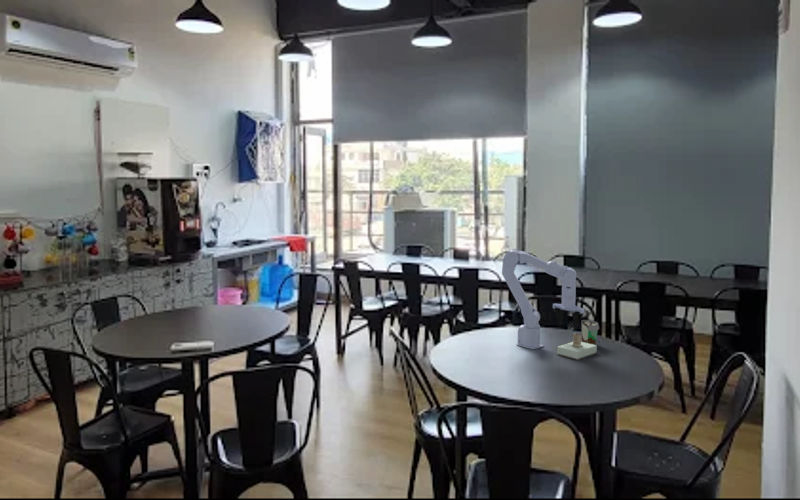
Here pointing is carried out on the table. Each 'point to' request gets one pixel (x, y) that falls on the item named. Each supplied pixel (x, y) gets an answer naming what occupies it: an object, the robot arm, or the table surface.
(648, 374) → the table surface
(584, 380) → the table surface
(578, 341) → the peg
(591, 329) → the food container
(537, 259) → the robot arm
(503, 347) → the table surface
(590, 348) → the socket block
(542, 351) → the table surface
